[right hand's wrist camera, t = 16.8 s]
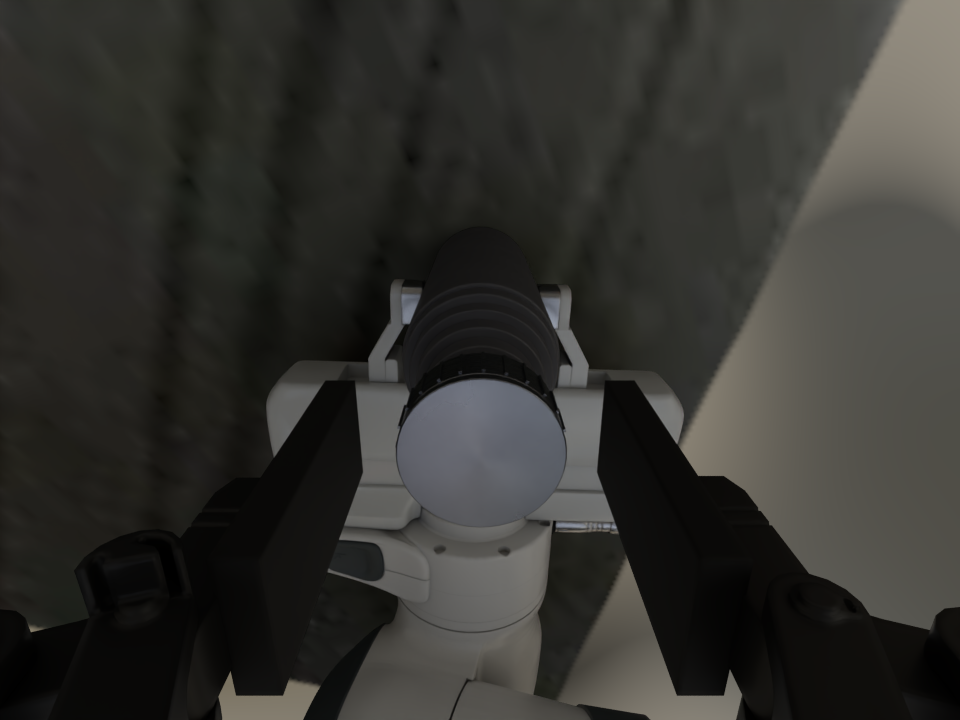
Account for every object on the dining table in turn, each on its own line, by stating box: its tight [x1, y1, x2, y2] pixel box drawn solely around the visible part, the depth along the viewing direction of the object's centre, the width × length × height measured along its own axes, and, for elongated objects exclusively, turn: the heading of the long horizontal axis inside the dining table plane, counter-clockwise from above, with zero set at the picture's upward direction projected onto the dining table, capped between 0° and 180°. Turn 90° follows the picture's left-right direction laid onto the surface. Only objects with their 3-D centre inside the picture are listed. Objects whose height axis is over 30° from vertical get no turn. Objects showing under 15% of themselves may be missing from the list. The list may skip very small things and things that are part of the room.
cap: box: [395, 352, 567, 527], centre depth 14 cm, size 4×4×2 cm
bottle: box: [402, 227, 560, 393], centre depth 23 cm, size 5×5×20 cm
